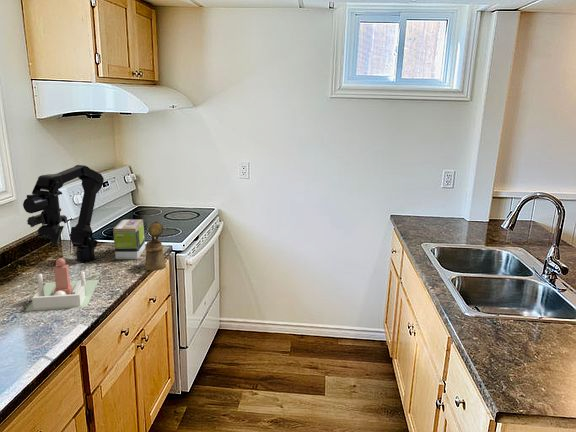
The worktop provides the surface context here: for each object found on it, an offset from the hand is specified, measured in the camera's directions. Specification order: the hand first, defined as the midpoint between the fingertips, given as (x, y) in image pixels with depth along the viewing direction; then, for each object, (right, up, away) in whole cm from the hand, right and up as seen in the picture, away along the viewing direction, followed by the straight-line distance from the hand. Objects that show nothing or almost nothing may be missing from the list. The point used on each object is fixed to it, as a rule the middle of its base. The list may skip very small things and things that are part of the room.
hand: (55, 245), depth 175 cm
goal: (+14, -19, -22) cm, 32 cm away
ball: (+14, -16, -23) cm, 31 cm away
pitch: (+12, -17, -16) cm, 26 cm away
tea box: (+20, -6, +28) cm, 35 cm away
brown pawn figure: (+36, -10, +15) cm, 40 cm away
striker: (+12, -17, -17) cm, 27 cm away
